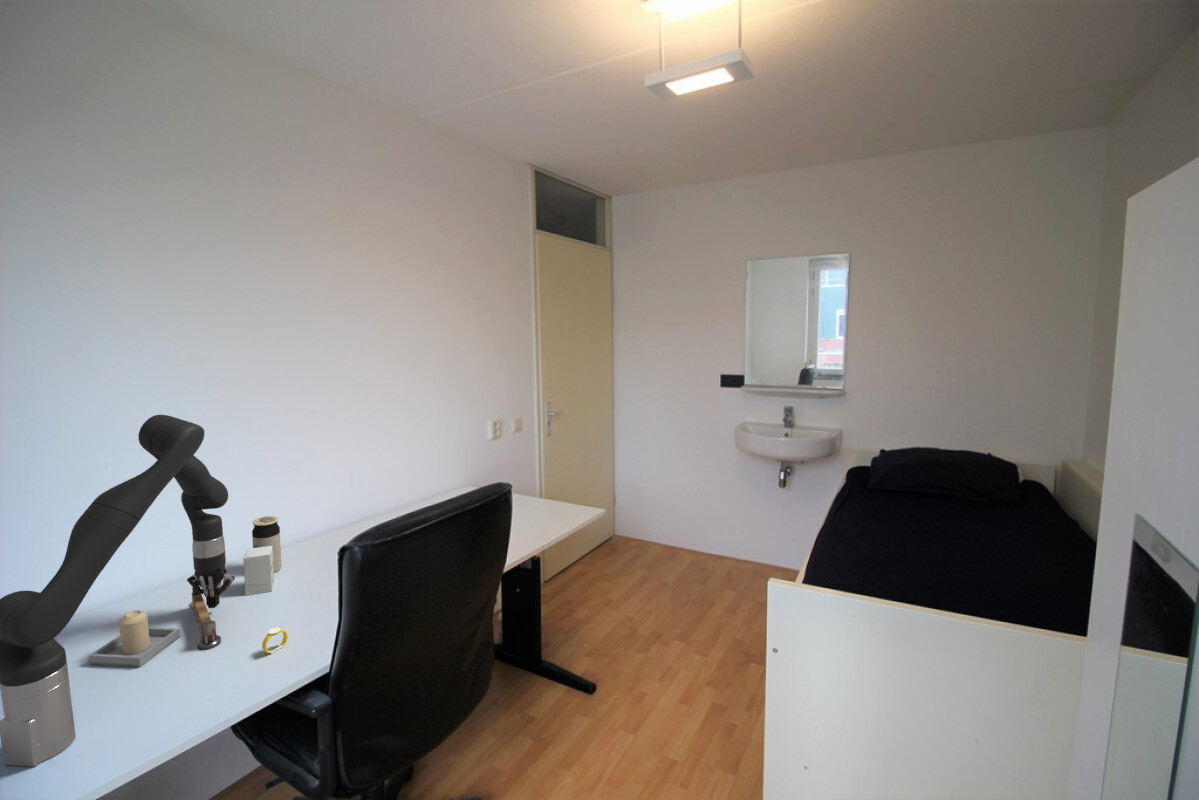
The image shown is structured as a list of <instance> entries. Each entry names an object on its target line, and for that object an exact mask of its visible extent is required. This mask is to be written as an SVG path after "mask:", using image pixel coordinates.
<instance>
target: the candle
mask: <svg viewBox="0 0 1199 800" xmlns="http://www.w3.org/2000/svg"><path fill="white" fill-rule="evenodd" d="M118 626H119V635H120V638H121V648H122V653H123V654H125V655H132V654H136V653H139V652H142V651H144V650H146V649H147V648H148V647H149V645H150V640H149V629H148V627H149V618H148V614H147V613H146V612H144V611H141V610H137V609H136V610H133V611H128V612H126V614H125V615H123V616H122V618H121V619H119V621H118Z"/></svg>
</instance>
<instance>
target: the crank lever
mask: <svg viewBox="0 0 1199 800" xmlns="http://www.w3.org/2000/svg"><path fill="white" fill-rule="evenodd" d="M199 587H200V586H199ZM191 588H192V592H191V601H192V604H193V611H194V614H195V617H196V619H197V623H198V625H199V628H200V636H201V637H200V638H201V639H202V643H205V644H207V643H211V642H213V641H215V640H216V638H217V636H216V635H217V626H216V621H215V620H212V618H211V616H210V613H209V610H208V607H207V604H206V603H205V600H204V597H203V594H201V595H200V594H198V593H197V591H196V590H195V589H194V588H193V587H191ZM200 588H201V587H200Z"/></svg>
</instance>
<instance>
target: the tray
mask: <svg viewBox="0 0 1199 800" xmlns="http://www.w3.org/2000/svg"><path fill="white" fill-rule="evenodd" d="M148 629H149V640H150V645H149V647H148V648H147V649H146V650H144V651H142V652H139V653H136V654H132V655H125V654H123V653H122V648H121V638H120V634H119V635H118V636H116V637H115V638H114V639H112V640H110V641H109V642H107V643H106V644H104V645H103V646H102V647H99V648H98V649H97V650H95V651H93V652H92V653H91V654H89V655H88V657H89V658H88V659H89V665H90V666H92V665H93V666H105V667H107V666H109V667H127V668H129V667H130V668H142V667H143V666H144V665H146V664H147V663H148V662H149V661H151V660H152V659H153V658H155V657H157V655H159V654H160V653H161V652H163V651H164V650H166V649H167V648H168V647H169V646H171V645H172V644H173V643H174V642H176V641H177V640H179V639H180V638H181V631H180V628H171V627H158V626H156V627H154V626H148Z"/></svg>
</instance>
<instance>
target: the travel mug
mask: <svg viewBox="0 0 1199 800" xmlns="http://www.w3.org/2000/svg"><path fill="white" fill-rule="evenodd" d="M278 521H279V517H278V516H275V515H274V516H273V515H269V516H266V515H265V516H262V517H258V518H256V519H253V520H252V522H251V523H252V525H253V529H252V530H251V535H252V536H251V537H252V548H258V547H266V546H272V547H273V568H274V573H275V572H278V571H279V570H280V569H282V552H281V551H282V549H281V548H282V547H281V528H280V526H279V524H278Z"/></svg>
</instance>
